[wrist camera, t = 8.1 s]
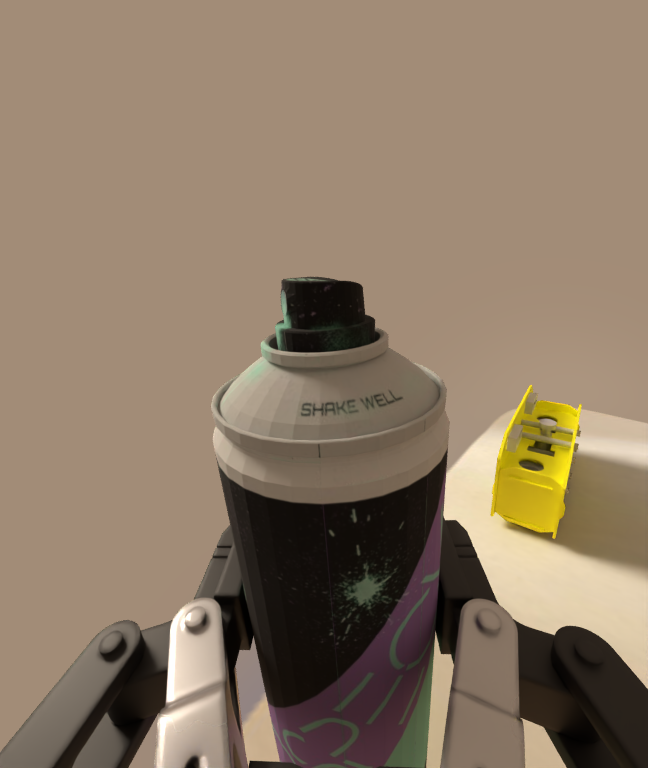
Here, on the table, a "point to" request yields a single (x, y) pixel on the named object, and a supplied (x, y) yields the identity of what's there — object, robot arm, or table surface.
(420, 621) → the spray can
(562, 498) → the yellow toy chassis
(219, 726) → the robot arm
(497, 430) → the table surface
